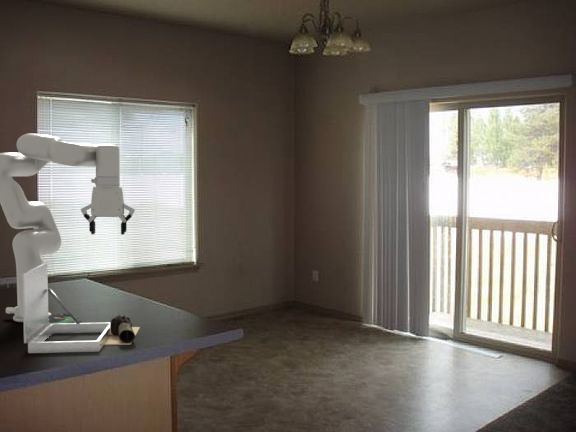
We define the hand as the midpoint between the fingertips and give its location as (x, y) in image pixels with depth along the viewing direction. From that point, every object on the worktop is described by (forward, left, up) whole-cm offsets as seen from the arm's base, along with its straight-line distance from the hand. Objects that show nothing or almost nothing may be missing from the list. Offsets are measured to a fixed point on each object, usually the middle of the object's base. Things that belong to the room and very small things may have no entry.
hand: (108, 234), depth 207 cm
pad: (+6, -11, -32) cm, 34 cm away
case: (-8, -16, -32) cm, 36 cm away
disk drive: (-18, +6, -32) cm, 38 cm away
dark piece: (+6, -12, -32) cm, 34 cm away
